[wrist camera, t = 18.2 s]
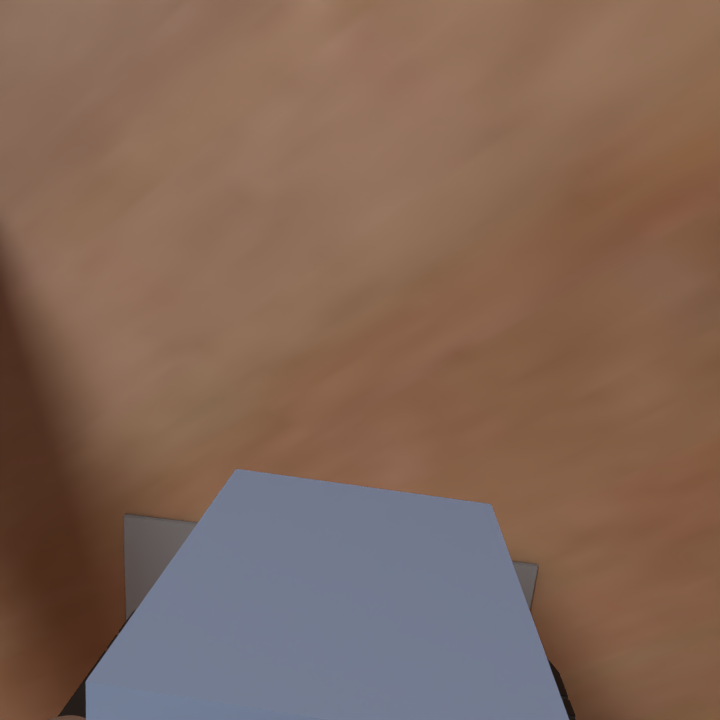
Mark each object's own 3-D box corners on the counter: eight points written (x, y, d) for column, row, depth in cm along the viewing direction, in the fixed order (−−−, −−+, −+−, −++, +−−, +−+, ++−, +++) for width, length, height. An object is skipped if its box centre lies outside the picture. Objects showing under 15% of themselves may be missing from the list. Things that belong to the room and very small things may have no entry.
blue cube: (222, 678, 13) (89, 1013, 8) (236, 469, 12) (85, 680, 6) (450, 714, 13) (493, 1089, 7) (490, 504, 12) (583, 759, 6)
